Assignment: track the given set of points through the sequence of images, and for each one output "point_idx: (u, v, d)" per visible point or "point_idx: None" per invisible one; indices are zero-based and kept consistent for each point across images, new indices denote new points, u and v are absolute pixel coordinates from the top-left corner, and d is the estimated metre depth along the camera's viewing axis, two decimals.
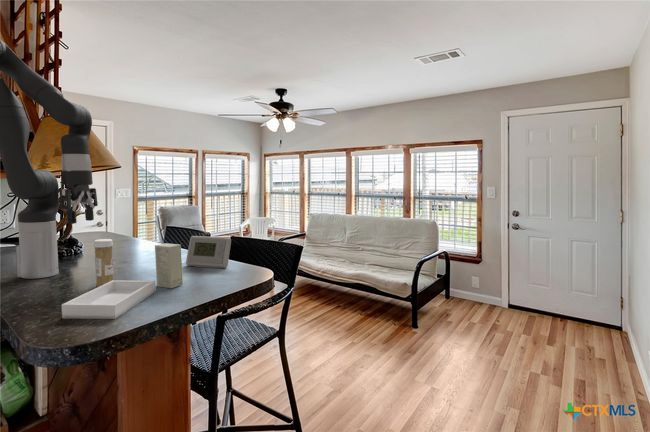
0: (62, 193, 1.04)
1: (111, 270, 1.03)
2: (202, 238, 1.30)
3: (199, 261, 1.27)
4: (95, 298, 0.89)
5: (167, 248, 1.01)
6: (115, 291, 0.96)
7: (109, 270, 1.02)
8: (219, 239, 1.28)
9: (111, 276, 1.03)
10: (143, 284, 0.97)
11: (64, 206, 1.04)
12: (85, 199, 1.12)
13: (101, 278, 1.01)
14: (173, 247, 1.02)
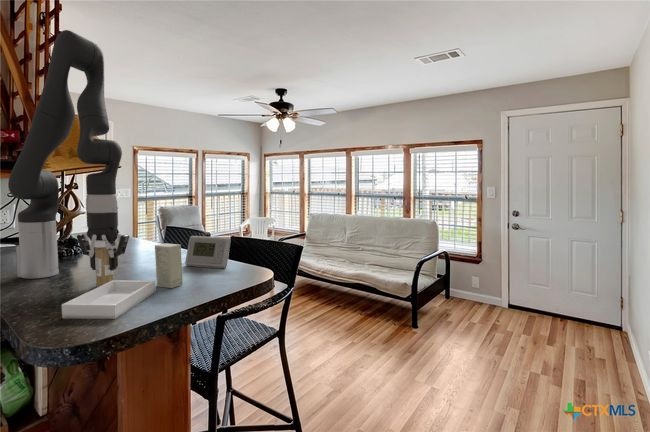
0: (125, 240, 1.02)
1: (111, 270, 1.03)
2: (201, 238, 1.29)
3: (198, 261, 1.27)
4: (95, 298, 0.89)
5: (167, 248, 1.01)
6: (115, 291, 0.96)
7: (109, 270, 1.02)
8: (219, 239, 1.28)
9: (111, 276, 1.03)
10: (143, 284, 0.97)
11: (122, 252, 1.02)
12: None
13: (101, 278, 1.01)
14: (173, 247, 1.02)
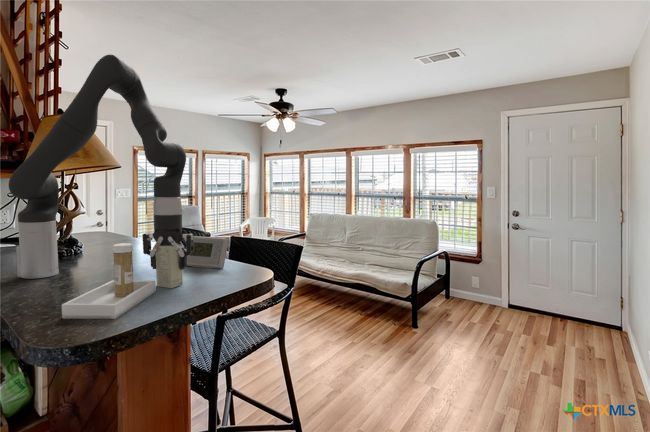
0: (191, 238, 1.03)
1: (132, 278, 0.93)
2: (199, 238, 1.29)
3: (196, 261, 1.27)
4: (95, 298, 0.89)
5: (167, 248, 1.01)
6: None
7: (129, 277, 0.92)
8: (216, 239, 1.28)
9: (131, 285, 0.93)
10: (143, 284, 0.97)
11: (191, 251, 1.04)
12: None
13: (120, 286, 0.91)
14: (173, 247, 1.02)
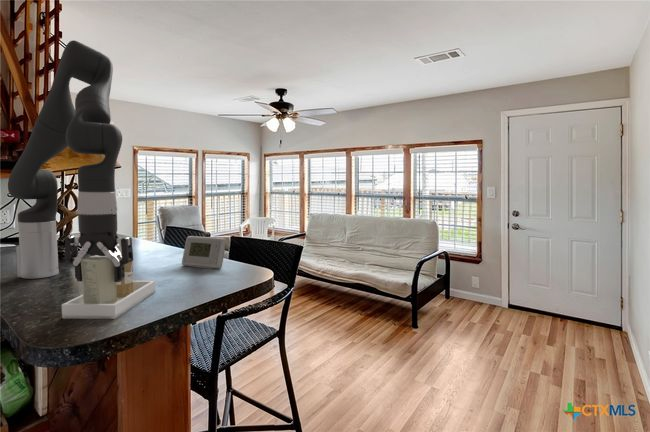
0: (128, 243, 0.82)
1: (132, 278, 0.93)
2: (198, 238, 1.29)
3: (194, 261, 1.27)
4: None
5: (94, 262, 0.80)
6: None
7: (129, 277, 0.92)
8: (214, 239, 1.27)
9: (131, 285, 0.93)
10: (143, 284, 0.97)
11: (129, 259, 0.83)
12: None
13: (120, 286, 0.91)
14: (103, 261, 0.80)
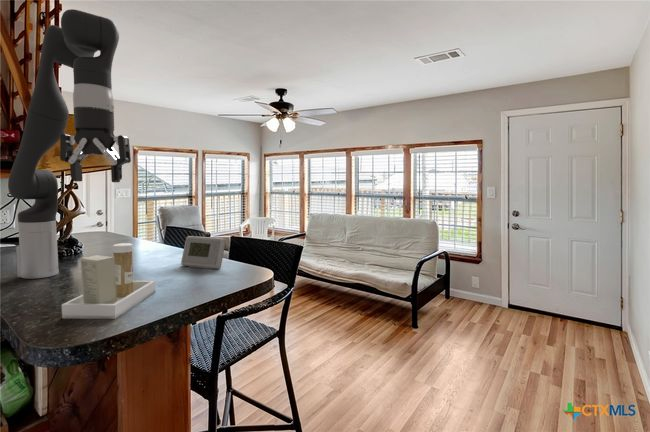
0: (125, 141, 0.80)
1: (132, 278, 0.93)
2: (197, 238, 1.29)
3: (193, 261, 1.27)
4: None
5: (94, 262, 0.80)
6: None
7: (129, 277, 0.92)
8: (214, 239, 1.27)
9: (131, 285, 0.93)
10: (143, 284, 0.97)
11: (126, 158, 0.80)
12: None
13: (120, 286, 0.91)
14: (102, 261, 0.80)
